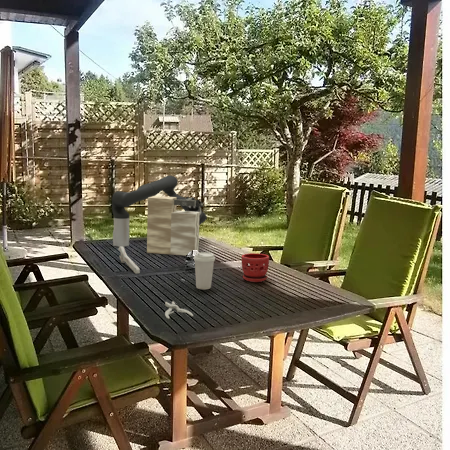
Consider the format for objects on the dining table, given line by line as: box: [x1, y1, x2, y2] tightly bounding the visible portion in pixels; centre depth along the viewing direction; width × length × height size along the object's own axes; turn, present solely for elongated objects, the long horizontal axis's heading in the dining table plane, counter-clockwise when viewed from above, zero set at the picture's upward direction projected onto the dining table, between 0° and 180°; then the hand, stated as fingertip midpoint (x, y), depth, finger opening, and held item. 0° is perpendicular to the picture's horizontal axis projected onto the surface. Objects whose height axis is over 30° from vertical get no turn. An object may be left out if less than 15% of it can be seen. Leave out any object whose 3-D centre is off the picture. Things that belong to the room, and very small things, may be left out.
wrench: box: [118, 246, 141, 275], centre depth 237 cm, size 8×2×30 cm
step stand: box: [146, 195, 200, 256], centre depth 272 cm, size 12×28×32 cm, turn 82°
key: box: [174, 197, 197, 207], centre depth 275 cm, size 20×12×3 cm, turn 172°
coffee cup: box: [193, 252, 216, 290], centre depth 206 cm, size 10×10×15 cm
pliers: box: [164, 301, 194, 320], centre depth 176 cm, size 10×2×15 cm
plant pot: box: [241, 252, 270, 283], centre depth 222 cm, size 13×13×12 cm
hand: (189, 198), depth 279 cm, fingers closed on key, 2 cm apart
